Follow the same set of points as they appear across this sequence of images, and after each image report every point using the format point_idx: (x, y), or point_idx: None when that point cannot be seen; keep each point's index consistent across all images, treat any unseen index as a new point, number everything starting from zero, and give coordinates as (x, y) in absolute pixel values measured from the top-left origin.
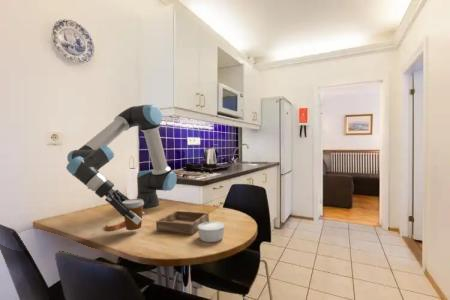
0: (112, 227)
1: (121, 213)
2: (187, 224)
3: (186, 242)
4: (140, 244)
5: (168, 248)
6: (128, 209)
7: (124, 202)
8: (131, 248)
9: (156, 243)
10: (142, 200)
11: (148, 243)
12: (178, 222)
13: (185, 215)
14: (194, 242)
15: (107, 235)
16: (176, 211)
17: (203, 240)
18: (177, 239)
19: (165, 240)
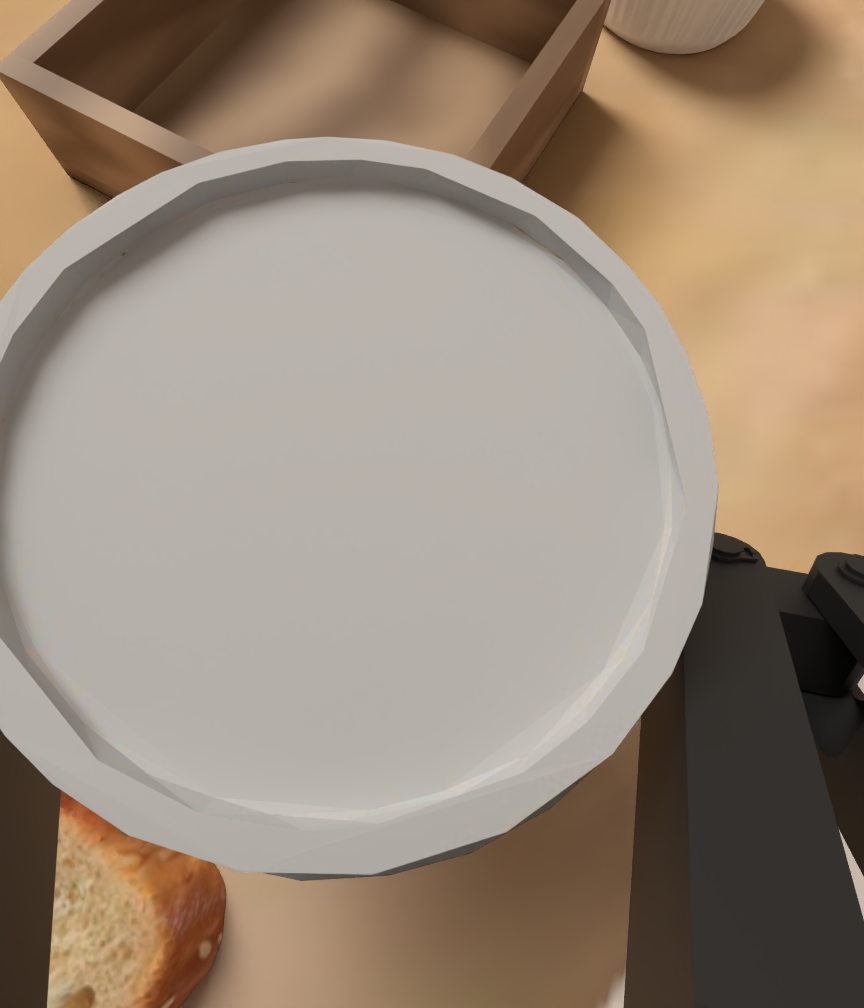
0: (189, 936)
1: (852, 693)
2: (594, 18)
3: (729, 139)
4: (741, 462)
5: (834, 250)
6: (722, 543)
7: (332, 773)
8: (827, 527)
9: (730, 335)
10: (355, 146)
11: (724, 397)
12: (526, 75)
13: (134, 41)
14: (734, 95)
15: (402, 924)
16: (27, 70)
17: (731, 36)
18: (661, 190)
19: (671, 272)
